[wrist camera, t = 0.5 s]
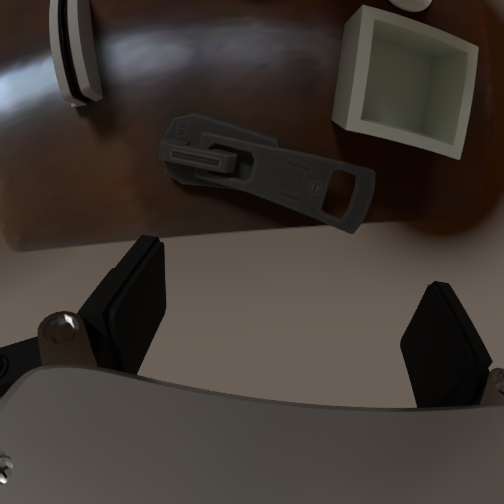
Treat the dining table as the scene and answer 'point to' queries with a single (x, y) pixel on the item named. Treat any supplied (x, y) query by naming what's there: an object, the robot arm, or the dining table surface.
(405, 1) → the candle
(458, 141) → the open square box
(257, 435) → the robot arm
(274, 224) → the dining table surface
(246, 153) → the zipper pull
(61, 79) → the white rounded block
